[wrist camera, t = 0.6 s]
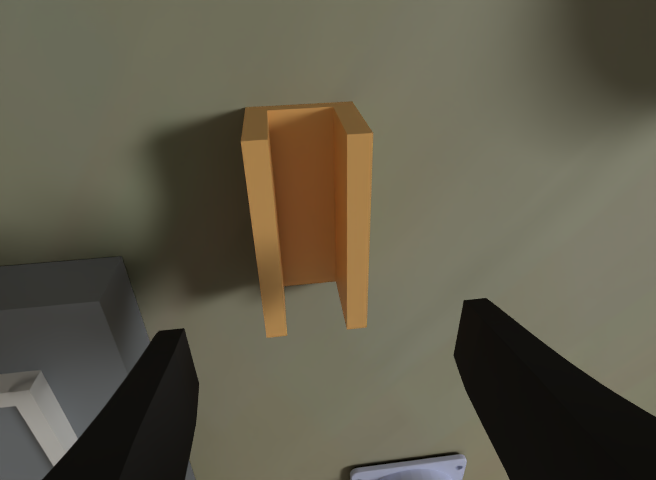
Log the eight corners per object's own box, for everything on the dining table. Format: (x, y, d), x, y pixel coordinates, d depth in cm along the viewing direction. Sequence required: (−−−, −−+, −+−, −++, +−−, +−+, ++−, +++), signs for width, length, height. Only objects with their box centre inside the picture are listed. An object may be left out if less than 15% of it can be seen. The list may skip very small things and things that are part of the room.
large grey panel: (202, 501, 29) (194, 571, 26) (-19, 531, 28) (-58, 608, 25) (121, 256, 19) (90, 319, 15) (-241, 286, 17) (-362, 362, 14)
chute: (350, 269, 21) (366, 327, 18) (266, 277, 21) (266, 337, 17) (351, 100, 17) (373, 133, 13) (245, 105, 16) (240, 141, 13)
